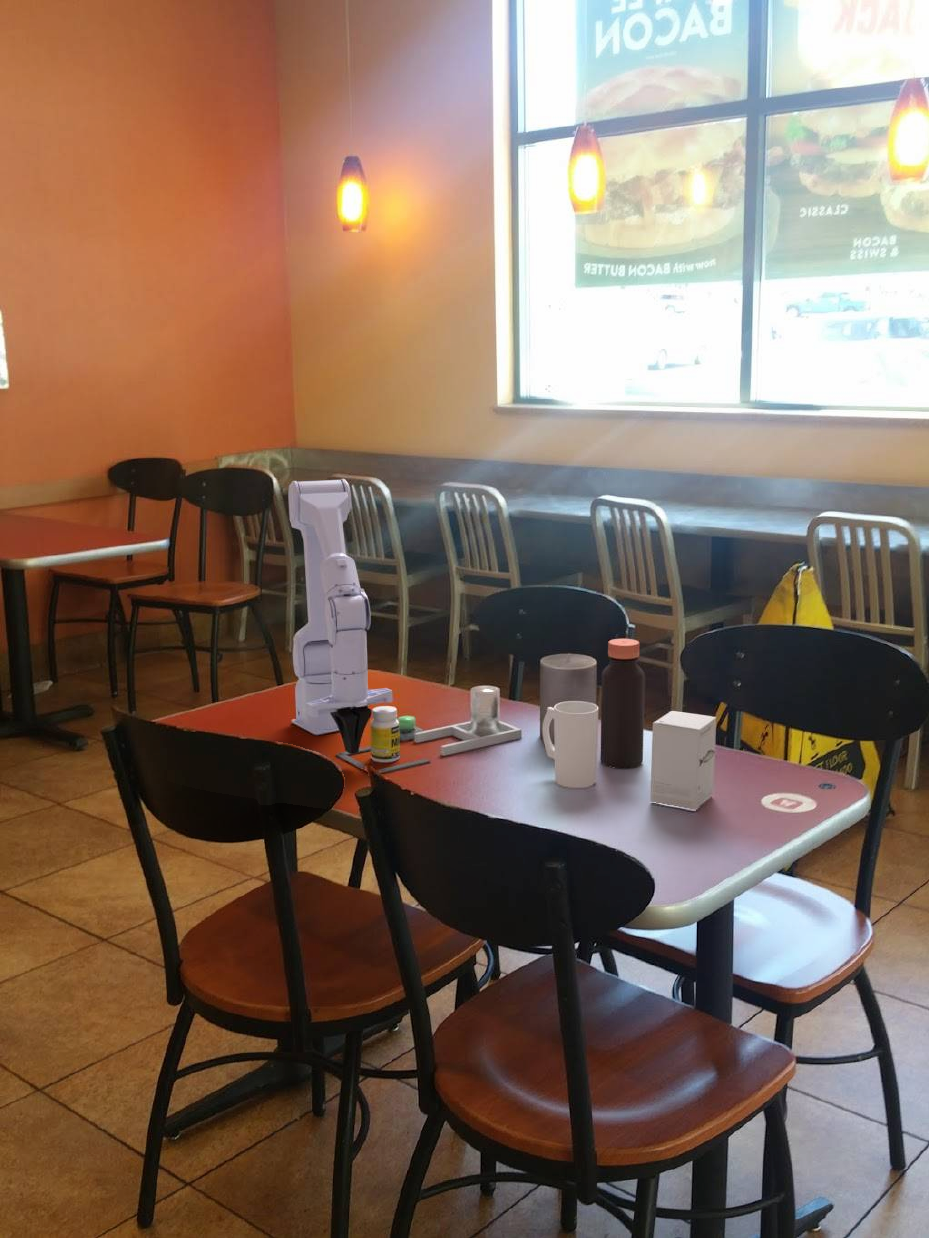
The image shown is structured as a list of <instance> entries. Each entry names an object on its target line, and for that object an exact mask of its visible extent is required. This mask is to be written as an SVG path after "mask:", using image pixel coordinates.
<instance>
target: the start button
mask: <svg viewBox="0 0 929 1238" xmlns="http://www.w3.org/2000/svg"><path fill="white" fill-rule="evenodd" d="M397 720H398V721H399V729H401V731H403V732H408V731H412V729H413V728H415V726H416V717H414V716H412V715H403V716H399V717H397Z"/></svg>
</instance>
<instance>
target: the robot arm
mask: <svg viewBox="0 0 929 1238" xmlns="http://www.w3.org/2000/svg"><path fill="white" fill-rule="evenodd" d="M287 494H288V515H289V522H290V525H291V526H290V527H291V528H292V529H293V528H294V529H296V530H299V531H300V533H301V537H302V539H303V553H304V554H303V555H304V556H303V557H304V568H305V572H304V573H305V587H306V588H305V589H306V604H307V605H306V606H307V621H308V622H307V623H306V624H305V625H304V626H303V627H301V628H300V629H298V630H297V632H296V633H295V634H294V636H293V638H292V639H293V642H292V643H293V646H292V647H293V648H292V665H293V671H294V674H295V676H296V677H297V678H298V680H297V681H296V684H295V689H294V690H295V691H294V695H295V712H296V713H295V717H296V718H295V719H294V718H293V719H291V723H293V724H294V725H296V726H298V727H300V728H301V729H304V730H305V731H306V732H307V731H308V732H309V733H311V734H313V735H315V736H319V735H324V734H328V733H333V732H338V731H339V733H340V735H341V736H340V737H341V738H342V739H341V740H342V742H343V746H344V750H345V751H344V752H348V753H350V754H353V753H358V752H359V749H360V745H361V742H362V739H363V734H364V732H365V729H366V726H367V724H368V723H369V720H370V718H371V717H372V709H371V708H369V707H368V706H372V705H376V704H381V703H387V704H389V703H393V690H392V689H389V688H388V687H384V688H376V689H375V688H374V689H369V684H368V683H369V681H368V679H369V678H368V647H367V645H368V643H367V641H368V640H367V631H368V630H370V628H371V622H372V621H371V620H372V619H371V616H372V615H371V614H372V613H371V605H370V601H369V598H368V595H367V594H366V592H365V589H364V588H361V585H360V579H359V576H358V571H357V566H356V562H355V560H354V559H353V557H351V556H348V555H347V551H346V544H345V535H344V527H343V526H344V525H343V524H344V522H346V521H347V519H348V516H349V513H350V512H351V509H352V508H351V507H352V495H351V494H352V492H351V487H350V484H349V483H348V481H347V480H346V479H345V478H340V479H330V480H329V479H327V480H306V481H305V480H304V481H298V480H292V482H291V483H290V484H289V486H288V493H287ZM366 630H367V631H366ZM358 754H359V753H358ZM353 755H354V754H353Z"/></svg>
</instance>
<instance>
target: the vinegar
mask: <svg viewBox="0 0 929 1238" xmlns="http://www.w3.org/2000/svg"><path fill="white" fill-rule="evenodd" d="M607 646H608V647H607V655H608V657H607V658H608V659H609V664H608V665H607V666H606V667H604V669H603V670H602V672H601V693H600V694H601V695H600V696H601V701H600V702H601V704H600V705H601V706H600V714H601V715H600V762H601V764H603V765H604V764H605V766H606V765H607V766H606V767H609V766H610V768H613V767H615V768H614V769H632V768H631V767H634V768H636V766H637V767H639V766H641V765H642V764H641V763H643V761H644V732H645V731H644V730H645V729H644V726H645V725H644V724H645V723H644V722H645V719H644V718H645V685H646V684H645V683H646V679H645V678H646V675H645V674H646V673H645V672H644V670H643V669H642V668H641V667H640V665H638V660H639V659H640V658H639V657H640V642H639V640H636V639H632V638H615V639H613V638H612V639H611V640H609V641H608V643H607Z"/></svg>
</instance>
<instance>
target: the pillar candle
mask: <svg viewBox="0 0 929 1238" xmlns="http://www.w3.org/2000/svg"><path fill="white" fill-rule="evenodd" d="M539 662H540V663H539V665H540V667H539V739H540V740H541V741H542V742H544V739H543V731H542V728H543V721H544V718H545V715H546V713H547V708H548V707H552V708H554V706H555V705H556V704H558V703H561V702H567V701H583V702H589V703H593V704H595V705H597V682H598V681H597V670H598V669H597V668H598V667H597V666H598V665H597V660H596V659H595V658H593V657H592V656H589V655H585V654H579V653H570V652H568V653H557V654H551V655H546V656H544V657H542V658H541V659H540V661H539ZM549 734H550V739H551V742H552V744H553V746H555V740H554V718H553V719H552V720H551V722H550V725H549Z"/></svg>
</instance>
